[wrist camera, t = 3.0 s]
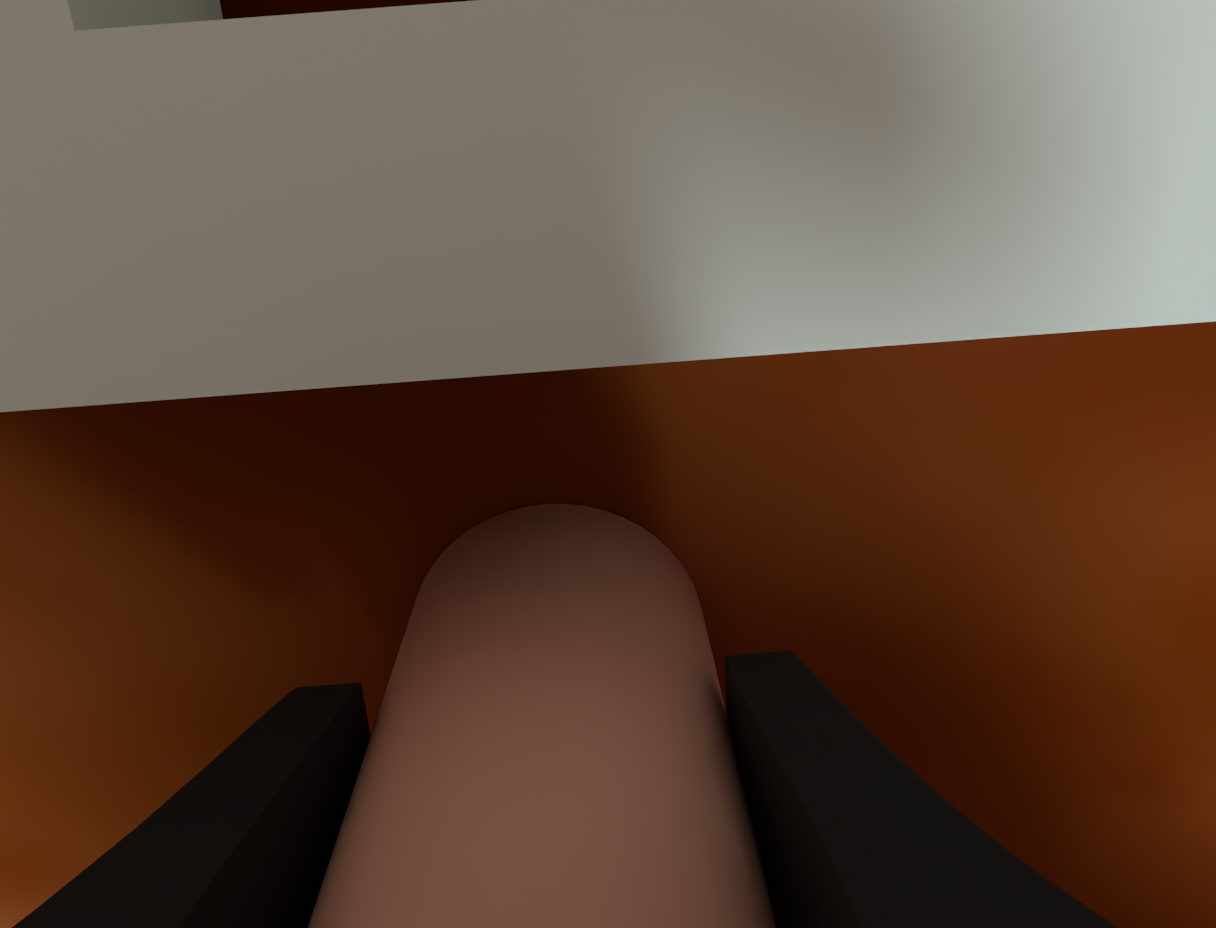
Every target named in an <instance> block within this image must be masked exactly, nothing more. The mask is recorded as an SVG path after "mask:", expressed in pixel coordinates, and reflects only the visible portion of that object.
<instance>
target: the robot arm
mask: <svg viewBox="0 0 1216 928" xmlns="http://www.w3.org/2000/svg"><path fill="white" fill-rule="evenodd" d="M725 674H726V704H727V720H728V724H729V729H730V733H731V737H732V742H733V746H734V750H735V754H736V759H737V763H738V767H739V772H740V776H741V780H742V784H743V789H744V793H745V797H746V801H747V805H748V809H749V813H750V817H751V821H752V825H753V830H754V834H755V838H756V842H757V847H758V851H759V855H760V860H761V864H762V868H763V872H764V877H765V881H766V885H767V890H768V894H769V898H770V902H771V907H772V911H773V915H774V919H775V924H776V928H1117V927H1116V926H1114V925H1113V924H1111V923H1110V922H1108V921H1107V920H1105V919H1104V918H1102V917H1101V916H1099V915H1098V914H1097V913H1095V912H1094V911H1092V910H1091V909H1089V908H1088V907H1086V906H1085V905H1083V904H1082V903H1081V902H1079V901H1078V900H1076V899H1075V898H1073V897H1072V896H1070V895H1069V894H1067V893H1066V892H1064V891H1063V890H1062V889H1060V888H1059V887H1057V886H1056V885H1054V884H1053V883H1051V882H1050V881H1048V880H1047V879H1046V878H1044V877H1043V876H1042V875H1040V874H1039V873H1038V872H1036V871H1035V870H1033V869H1032V868H1031V867H1029V866H1028V865H1027V864H1025V863H1024V862H1023V861H1021V860H1020V859H1019V858H1017V857H1016V856H1015V855H1013V854H1012V853H1011V852H1009V851H1008V850H1007V849H1005V848H1004V847H1003V846H1002V845H1000V844H999V843H998V842H997V841H995V840H994V839H993V838H992V837H990V836H989V835H988V834H987V833H985V832H984V831H983V830H982V829H980V828H979V827H978V826H977V825H975V824H974V823H973V822H972V821H970V820H969V819H968V818H967V817H965V816H964V815H963V814H962V813H961V812H959V811H958V810H957V809H956V808H955V807H954V806H952V805H951V804H950V803H949V802H948V801H947V800H945V799H944V798H943V797H942V796H941V795H940V794H938V793H937V792H936V791H935V790H934V789H933V788H932V787H931V786H929V785H928V784H927V783H926V782H925V781H924V780H923V779H922V778H921V777H920V776H918V775H917V774H916V773H915V772H914V771H913V770H912V769H911V768H910V767H908V766H907V765H906V764H905V763H904V762H903V761H902V760H901V759H900V758H899V757H897V756H896V755H895V754H894V753H893V752H892V751H891V750H890V749H889V748H888V747H886V746H885V745H884V744H883V743H882V742H881V741H880V740H879V739H878V738H877V737H876V736H875V735H874V734H873V733H872V732H871V731H870V730H869V729H868V728H867V727H866V726H865V725H864V724H863V723H862V722H861V721H860V720H859V719H858V718H857V717H856V716H854V715H853V714H852V713H851V712H850V711H849V710H848V709H847V708H846V707H845V706H844V705H843V704H842V703H841V702H840V701H839V700H838V699H837V698H836V696H835V695H834V694H833V693H832V692H831V691H830V690H829V689H828V688H827V687H826V686H825V685H824V684H823V683H822V682H821V681H820V680H819V679H818V678H817V677H816V676H815V675H814V674H813V673H812V672H811V671H810V670H809V669H808V668H807V667H806V666H805V665H804V664H803V663H802V662H801V661H800V660H799V659H798V658H797V657H796V656H795V655H794V654H793V653H791V652H790V651H781V652H768V653H755V654H741V655H728V656H725ZM370 737H371V736H370V730H369V725H368V719H367V714H366V709H365V703H364V698H363V692H362V687H361V683H352V684H339V685H325V686H312V687H298V688H296V689H294V690H293V691H292V692H290V693H289V694H288V695H287V696H285V697H284V698H283V699H282V700H280V701H279V702H278V703H277V704H276V705H275V706H273V707H272V708H271V709H270V710H269V711H268V712H267V713H265V714H264V715H263V716H262V717H261V718H260V719H259V720H257V721H256V722H255V723H254V724H253V725H252V726H251V727H250V728H249V729H247V730H246V731H245V732H244V733H243V734H242V735H241V736H240V737H239V738H237V739H236V740H235V741H234V742H233V743H232V744H231V745H230V746H229V747H227V748H226V749H225V750H224V751H223V752H222V753H221V754H220V755H219V756H217V757H216V758H215V759H214V760H213V761H212V762H211V763H210V764H209V765H207V766H206V767H205V768H204V769H203V770H202V771H201V772H199V773H198V774H197V775H196V776H195V777H194V778H193V779H192V780H190V781H189V782H188V783H187V784H186V785H185V786H184V787H182V788H181V789H180V790H179V791H178V792H177V793H176V794H175V795H173V796H172V797H171V798H170V799H169V800H168V801H167V802H165V803H164V804H163V805H162V806H161V807H160V808H159V809H157V810H156V811H155V812H154V813H153V814H152V815H151V816H150V817H148V818H147V819H146V820H145V821H144V822H143V823H141V824H140V825H139V826H138V827H137V828H136V829H134V830H133V831H132V832H131V833H129V834H128V835H127V836H126V837H124V838H123V839H122V840H121V841H120V842H118V843H117V844H116V845H115V846H113V847H112V848H111V849H110V850H108V851H107V852H106V853H105V854H104V855H102V856H101V857H100V858H99V859H97V860H96V861H95V862H94V863H92V864H91V865H90V866H89V867H88V868H86V869H85V870H84V871H83V872H81V873H80V874H79V875H78V876H76V877H75V878H74V879H73V880H71V881H70V882H69V883H68V884H67V885H65V886H64V887H63V888H62V889H60V890H59V891H58V892H57V893H55V894H54V895H53V896H52V897H51V898H49V899H48V900H47V901H46V902H44V903H43V904H42V905H41V906H39V907H38V908H37V909H36V910H35V911H33V912H32V913H31V914H29V915H28V916H27V917H25V918H24V919H23V920H21V921H20V922H19V923H17V924H16V925H15V926H13V927H12V928H308V925H309V922H310V919H311V916H312V913H313V910H314V907H315V904H316V901H317V898H318V895H319V892H320V889H321V886H322V883H323V880H324V877H325V874H326V871H327V868H328V865H329V862H330V859H331V855H332V852H333V849H334V846H335V843H336V840H337V837H338V834H339V831H340V828H341V825H342V822H343V819H344V816H345V813H346V810H347V807H348V804H349V801H350V798H351V795H352V792H353V789H354V786H355V783H356V780H357V777H358V773H359V770H360V767H361V764H362V761H363V758H364V755H365V752H366V749H367V746H368V743H369V740H370Z"/></svg>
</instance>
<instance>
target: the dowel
mask: <svg viewBox="0 0 1216 928" xmlns="http://www.w3.org/2000/svg"><path fill="white" fill-rule="evenodd" d="M308 928H776V924H775V919H774V915H773V911H772V907H771V902H770V898H769V894H768V890H767V885H766V881H765V877H764V872H763V868H762V864H761V860H760V855H759V851H758V847H757V842H756V838H755V834H754V830H753V825H752V821H751V817H750V813H749V809H748V805H747V801H746V797H745V793H744V789H743V784H742V780H741V776H740V772H739V767H738V763H737V759H736V754H735V750H734V746H733V742H732V737H731V733H730V729H729V724H728V720H727V714H726V710H725V706H724V701H723V697H722V693H721V689H720V684H719V680H718V676H717V672H716V667H715V663H714V659H713V654H712V650H711V646H710V642H709V637H708V633H707V629H706V624H705V620H704V616H703V612H702V608H701V604H700V601H699V597H698V594H697V591H696V589H695V587H694V584H693V582H692V580H691V578H690V576H689V575H688V573H687V571H686V570H685V568H684V567H683V565H682V563H681V562H680V561H679V560H678V559H677V557H676V556H675V555H674V554H673V553H672V551H671V550H670V549H669V548H668V547H667V546H666V545H664V544H663V543H662V542H661V541H660V540H659V539H658V538H657V537H656V536H654V535H653V534H651V533H650V532H648V531H647V530H645V529H644V528H643V527H641V526H639V525H637V524H635V523H634V522H632V521H630V520H628V519H626V518H624V517H621V516H619V515H616V514H613V513H611V512H608V511H605V510H601V509H597V508H592V507H588V506H582V505H573V504H541V505H533V506H526V507H522V508H518V509H514V510H510V511H507V512H504V513H501V514H499V515H496V516H494V517H491V518H489V519H487V520H485V521H483V522H481V523H479V524H478V525H476V526H474V527H472V528H470V529H469V530H468V531H466V532H465V533H464V534H462V535H461V536H460V537H458V538H457V539H456V540H455V541H454V542H453V543H451V544H450V545H449V546H448V547H447V548H446V549H445V550H444V551H443V552H442V553H441V555H440V556H439V557H438V559H437V560H436V561H435V563H434V564H433V565H432V566H431V568H430V570H429V571H428V573H427V575H426V577H425V579H424V580H423V582H422V584H421V587H420V590H419V592H418V595H417V598H416V600H415V603H414V606H413V609H412V613H411V616H410V619H409V622H408V625H407V628H406V631H405V634H404V637H403V640H402V643H401V646H400V649H399V652H398V655H397V658H396V661H395V664H394V667H393V670H392V673H391V676H390V679H389V682H388V685H387V688H386V691H385V695H384V698H383V701H382V704H381V707H380V710H379V713H378V716H377V719H376V722H375V725H374V728H373V731H372V734H371V737H370V740H369V743H368V746H367V749H366V752H365V755H364V758H363V761H362V764H361V767H360V770H359V773H358V777H357V780H356V783H355V786H354V789H353V792H352V795H351V798H350V801H349V804H348V807H347V810H346V813H345V816H344V819H343V822H342V825H341V828H340V831H339V834H338V837H337V840H336V843H335V846H334V849H333V852H332V855H331V859H330V862H329V865H328V868H327V871H326V874H325V877H324V880H323V883H322V886H321V889H320V892H319V895H318V898H317V901H316V904H315V907H314V910H313V913H312V916H311V919H310V922H309V925H308Z"/></svg>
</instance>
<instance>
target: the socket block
mask: <svg viewBox="0 0 1216 928" xmlns="http://www.w3.org/2000/svg"><path fill="white" fill-rule="evenodd" d="M1212 321H1216V0H474V1H461V2H448V3H434V4H421V5H408V6H394V7H381V8H368V9H355V10H341V11H328V12H315V13H302V14H288V15H275V16H262V17H248V18H235V19H223V16H222V11H221V5H220V0H0V412H11V411H24V410H37V409H51V408H64V407H77V406H91V405H104V404H117V403H131V402H144V401H157V400H171V399H184V398H198V397H211V396H224V395H238V394H251V393H264V392H278V391H291V390H304V389H318V388H331V387H344V386H358V385H371V384H384V383H398V382H411V381H425V380H438V379H451V378H465V377H478V376H491V375H505V374H518V373H531V372H545V371H558V370H571V369H585V368H598V367H611V366H625V365H638V364H652V363H665V362H678V361H692V360H705V359H718V358H732V357H745V356H758V355H772V354H785V353H798V352H812V351H825V350H838V349H852V348H865V347H879V346H892V345H905V344H919V343H932V342H945V341H959V340H972V339H985V338H999V337H1012V336H1025V335H1039V334H1052V333H1065V332H1079V331H1092V330H1106V329H1119V328H1132V327H1146V326H1159V325H1172V324H1186V323H1199V322H1212Z"/></svg>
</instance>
